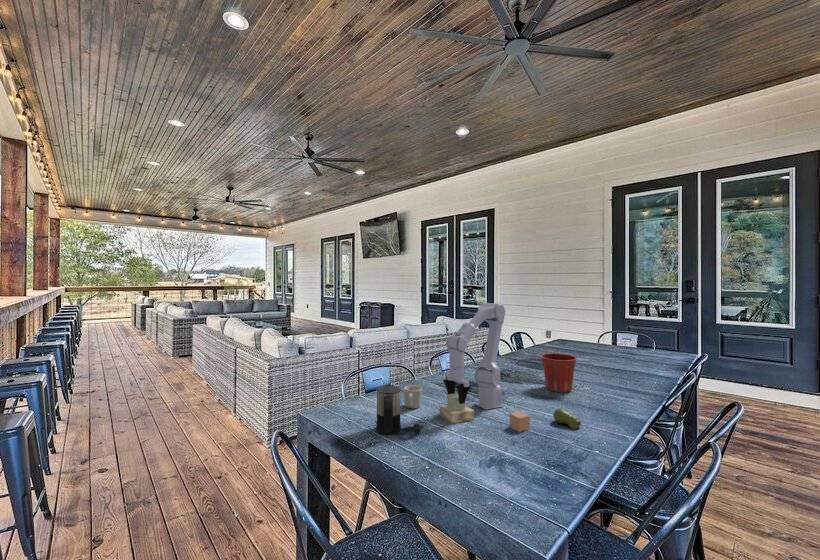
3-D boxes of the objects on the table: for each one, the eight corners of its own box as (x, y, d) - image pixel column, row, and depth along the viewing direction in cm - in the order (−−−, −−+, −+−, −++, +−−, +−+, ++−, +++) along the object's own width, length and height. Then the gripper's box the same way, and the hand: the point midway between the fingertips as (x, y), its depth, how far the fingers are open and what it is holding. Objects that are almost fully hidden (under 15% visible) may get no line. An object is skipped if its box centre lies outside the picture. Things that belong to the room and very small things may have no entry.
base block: (461, 412, 153) (461, 402, 153) (474, 420, 144) (474, 410, 144) (439, 415, 149) (439, 405, 149) (451, 424, 140) (451, 414, 140)
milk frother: (372, 426, 138) (373, 386, 137) (412, 420, 143) (412, 382, 143) (383, 442, 124) (383, 398, 124) (427, 435, 130) (427, 393, 130)
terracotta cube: (520, 424, 140) (520, 411, 140) (529, 429, 135) (529, 415, 135) (509, 427, 138) (509, 413, 138) (519, 432, 133) (519, 418, 133)
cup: (419, 413, 151) (419, 393, 151) (400, 411, 153) (400, 392, 153) (423, 404, 162) (423, 385, 162) (405, 402, 163) (405, 384, 163)
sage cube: (457, 405, 150) (457, 392, 150) (465, 409, 146) (465, 396, 146) (447, 407, 148) (447, 394, 148) (454, 411, 144) (454, 398, 143)
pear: (559, 404, 145) (584, 416, 137) (557, 417, 146) (582, 430, 138) (551, 407, 142) (576, 420, 134) (549, 420, 142) (574, 433, 135)
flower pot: (533, 386, 188) (533, 354, 188) (557, 382, 195) (558, 352, 195) (559, 396, 173) (559, 361, 173) (584, 391, 180) (584, 358, 180)
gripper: (438, 363, 151) (438, 396, 152) (458, 371, 138) (458, 407, 139) (453, 361, 155) (453, 394, 155) (474, 369, 142) (473, 404, 142)
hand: (456, 400), depth 147 cm, fingers open, 7 cm apart
